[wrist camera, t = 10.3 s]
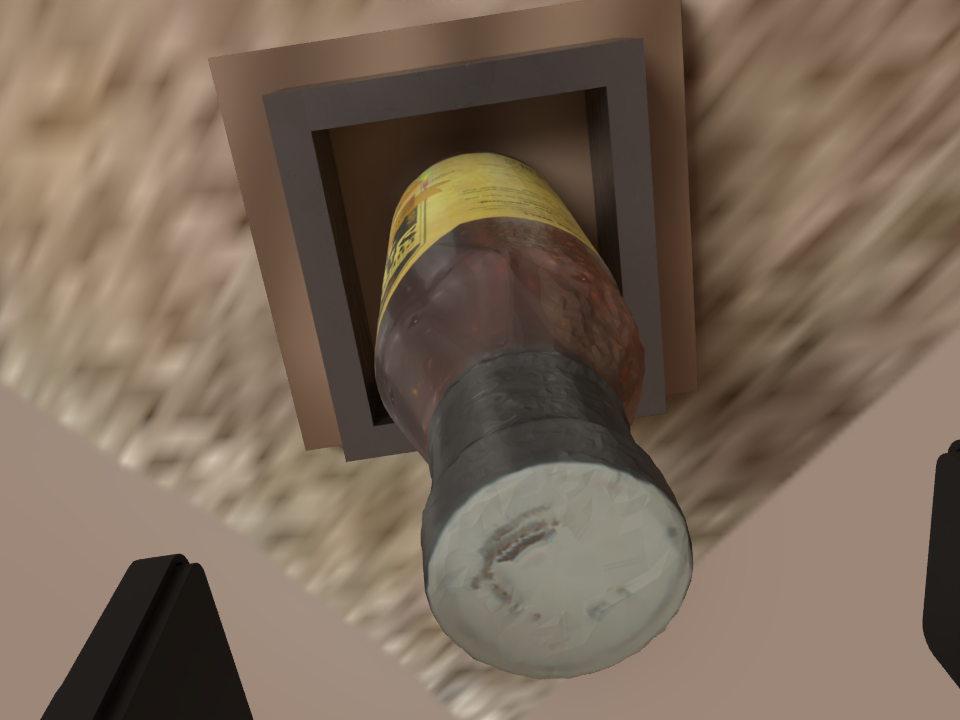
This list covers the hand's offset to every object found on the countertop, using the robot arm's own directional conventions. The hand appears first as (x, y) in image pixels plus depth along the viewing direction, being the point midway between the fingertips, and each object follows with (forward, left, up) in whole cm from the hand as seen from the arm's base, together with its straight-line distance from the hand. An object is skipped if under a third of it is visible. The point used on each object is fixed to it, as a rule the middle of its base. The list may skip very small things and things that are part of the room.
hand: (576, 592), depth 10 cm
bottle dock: (0, 0, -23) cm, 23 cm away
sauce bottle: (0, 0, -21) cm, 21 cm away
